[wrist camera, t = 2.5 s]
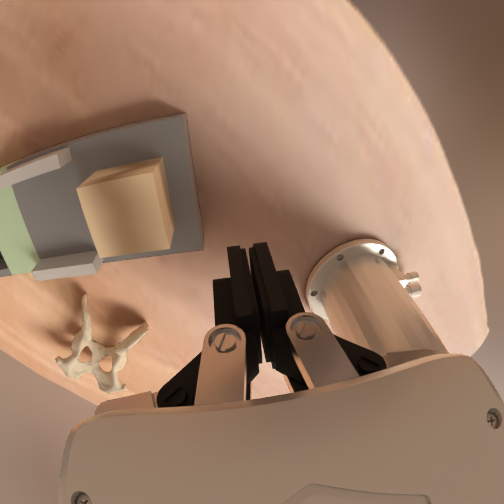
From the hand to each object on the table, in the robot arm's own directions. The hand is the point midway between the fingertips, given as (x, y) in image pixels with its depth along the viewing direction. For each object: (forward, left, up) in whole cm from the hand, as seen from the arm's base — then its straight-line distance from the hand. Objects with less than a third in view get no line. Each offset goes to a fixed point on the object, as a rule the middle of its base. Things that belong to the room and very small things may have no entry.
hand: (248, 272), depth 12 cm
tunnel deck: (+19, 0, -15) cm, 24 cm away
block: (+8, 0, -12) cm, 15 cm away
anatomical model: (+20, +20, -16) cm, 32 cm away
